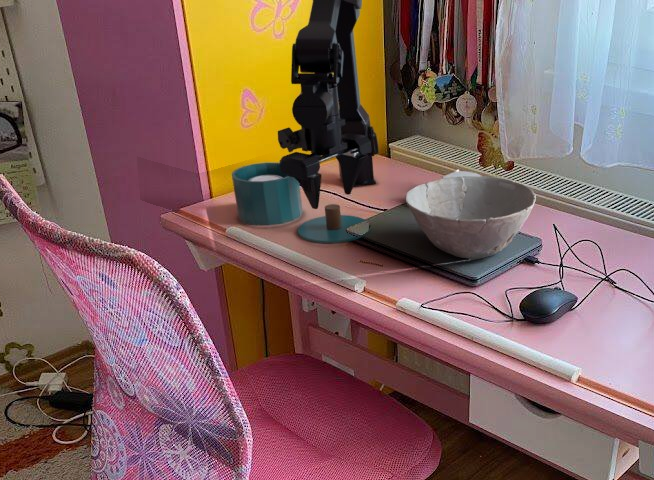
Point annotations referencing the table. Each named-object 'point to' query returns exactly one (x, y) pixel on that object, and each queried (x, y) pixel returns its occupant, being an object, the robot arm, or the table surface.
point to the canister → (266, 195)
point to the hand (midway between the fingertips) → (331, 201)
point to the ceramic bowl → (471, 213)
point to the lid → (330, 227)
